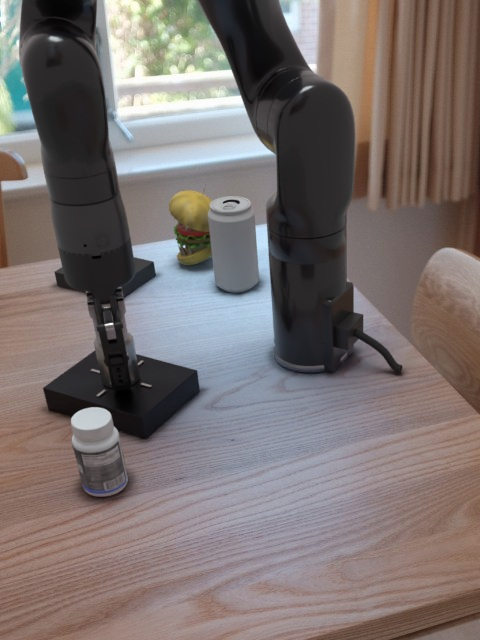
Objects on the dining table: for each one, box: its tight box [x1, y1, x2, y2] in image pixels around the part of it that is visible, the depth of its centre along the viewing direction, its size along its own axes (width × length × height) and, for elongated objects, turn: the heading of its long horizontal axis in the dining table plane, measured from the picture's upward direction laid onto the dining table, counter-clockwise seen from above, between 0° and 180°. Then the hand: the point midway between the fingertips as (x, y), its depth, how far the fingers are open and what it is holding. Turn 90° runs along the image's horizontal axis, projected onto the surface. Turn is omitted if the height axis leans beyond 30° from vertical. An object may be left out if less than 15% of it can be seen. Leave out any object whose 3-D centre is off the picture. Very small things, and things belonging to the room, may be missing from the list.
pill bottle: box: [70, 407, 129, 498], centre depth 93 cm, size 5×5×8 cm
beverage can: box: [208, 195, 260, 294], centre depth 127 cm, size 6×6×12 cm
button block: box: [54, 256, 157, 298], centre depth 131 cm, size 11×9×4 cm
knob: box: [93, 331, 140, 388], centre depth 104 cm, size 4×4×5 cm
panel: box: [42, 350, 201, 440], centre depth 107 cm, size 14×11×3 cm
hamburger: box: [168, 183, 213, 266], centre depth 133 cm, size 8×7×12 cm
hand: (120, 376), depth 106 cm, fingers closed on knob, 4 cm apart
